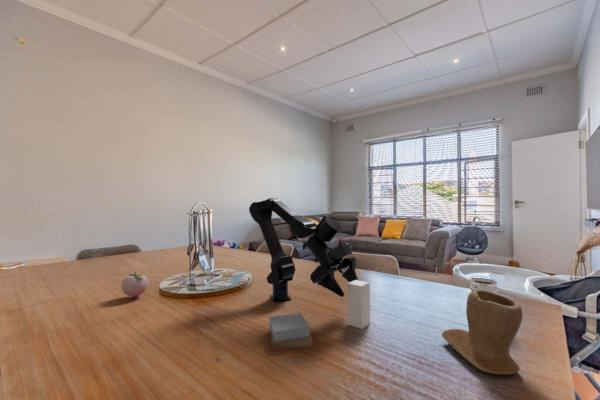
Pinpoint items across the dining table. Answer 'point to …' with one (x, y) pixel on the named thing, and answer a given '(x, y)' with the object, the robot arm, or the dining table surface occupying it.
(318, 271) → the robot arm
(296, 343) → the tower base slab
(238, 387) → the dining table surface
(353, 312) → the pillar
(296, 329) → the tower top slab
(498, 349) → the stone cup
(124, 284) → the decorative fruit
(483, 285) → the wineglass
